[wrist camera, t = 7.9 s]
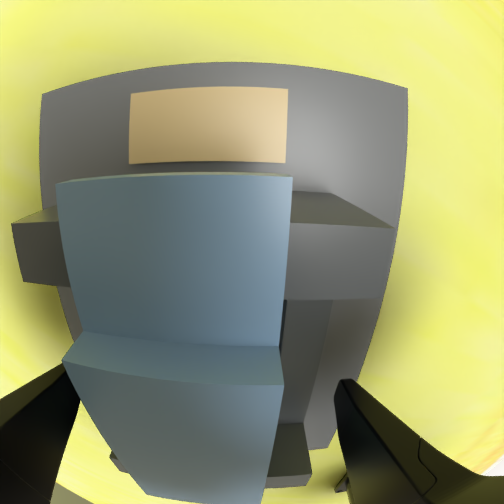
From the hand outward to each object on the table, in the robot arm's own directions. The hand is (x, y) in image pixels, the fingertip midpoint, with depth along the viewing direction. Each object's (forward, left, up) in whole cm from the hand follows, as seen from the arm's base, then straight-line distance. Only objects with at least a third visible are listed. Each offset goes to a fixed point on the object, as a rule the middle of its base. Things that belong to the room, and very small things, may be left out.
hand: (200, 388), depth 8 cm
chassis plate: (0, 0, -4) cm, 4 cm away
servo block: (0, 0, -3) cm, 3 cm away
